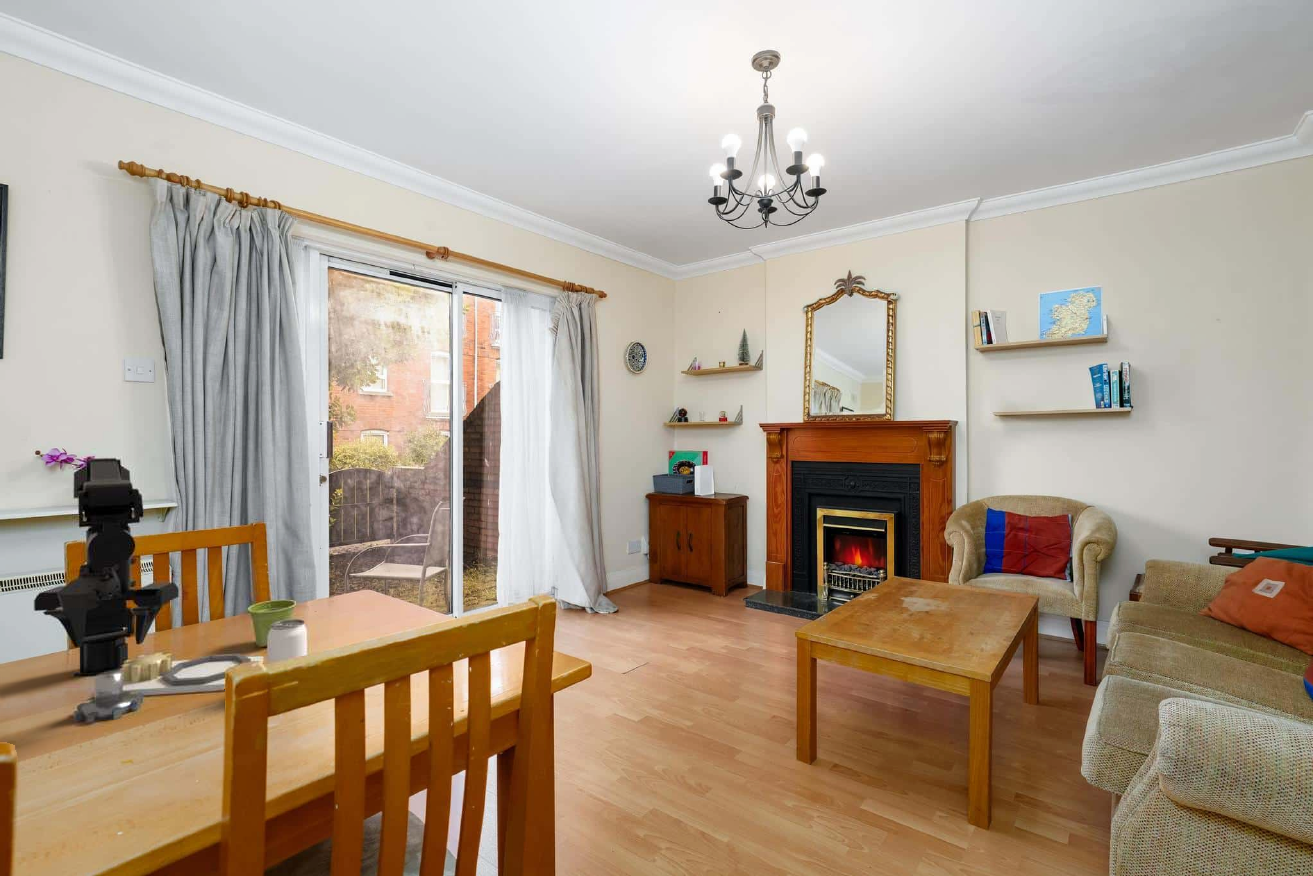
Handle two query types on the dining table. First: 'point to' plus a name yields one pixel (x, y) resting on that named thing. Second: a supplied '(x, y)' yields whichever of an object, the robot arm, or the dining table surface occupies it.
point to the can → (286, 640)
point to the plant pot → (269, 617)
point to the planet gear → (108, 699)
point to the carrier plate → (178, 673)
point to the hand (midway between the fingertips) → (109, 645)
